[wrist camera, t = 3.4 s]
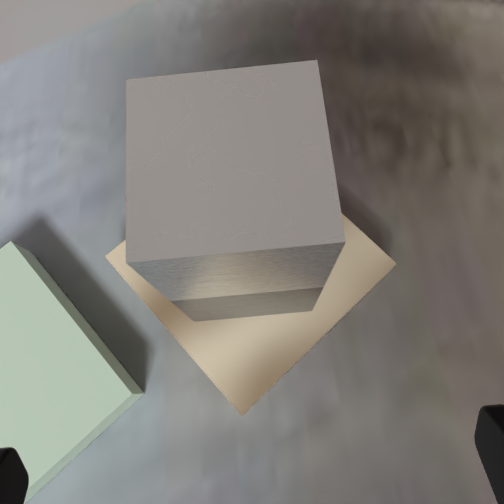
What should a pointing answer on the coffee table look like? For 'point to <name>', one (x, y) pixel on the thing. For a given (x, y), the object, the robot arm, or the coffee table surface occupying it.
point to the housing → (232, 189)
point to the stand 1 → (51, 372)
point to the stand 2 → (264, 322)
